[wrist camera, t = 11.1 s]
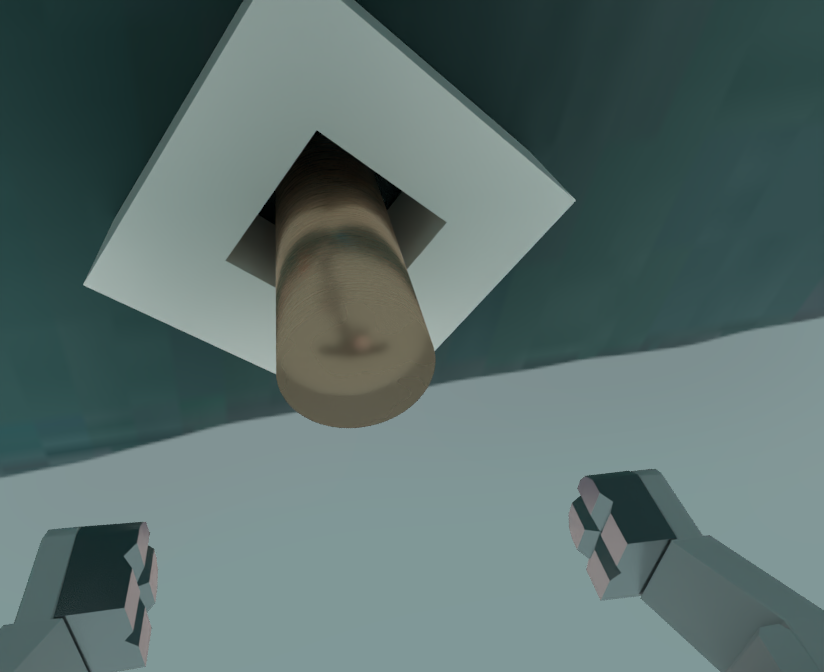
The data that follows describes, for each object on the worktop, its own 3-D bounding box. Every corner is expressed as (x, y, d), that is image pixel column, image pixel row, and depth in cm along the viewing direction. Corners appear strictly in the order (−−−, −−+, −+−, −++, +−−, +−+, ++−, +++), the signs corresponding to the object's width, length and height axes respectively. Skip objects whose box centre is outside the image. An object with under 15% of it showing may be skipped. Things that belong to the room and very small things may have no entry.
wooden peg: (255, 196, 25) (244, 391, 15) (312, 114, 23) (338, 274, 14) (337, 245, 27) (372, 446, 17) (394, 173, 25) (466, 349, 16)
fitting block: (114, 219, 24) (82, 285, 20) (281, -64, 20) (282, -50, 16) (358, 347, 30) (371, 418, 26) (529, 151, 26) (575, 200, 22)
